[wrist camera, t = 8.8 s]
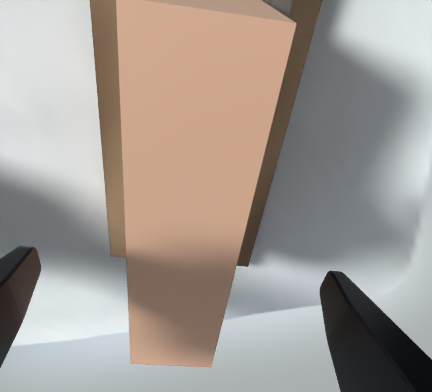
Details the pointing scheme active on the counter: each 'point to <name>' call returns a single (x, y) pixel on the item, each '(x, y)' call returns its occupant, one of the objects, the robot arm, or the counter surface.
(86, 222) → the counter surface
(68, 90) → the counter surface
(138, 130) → the door panel
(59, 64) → the counter surface
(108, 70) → the door track
